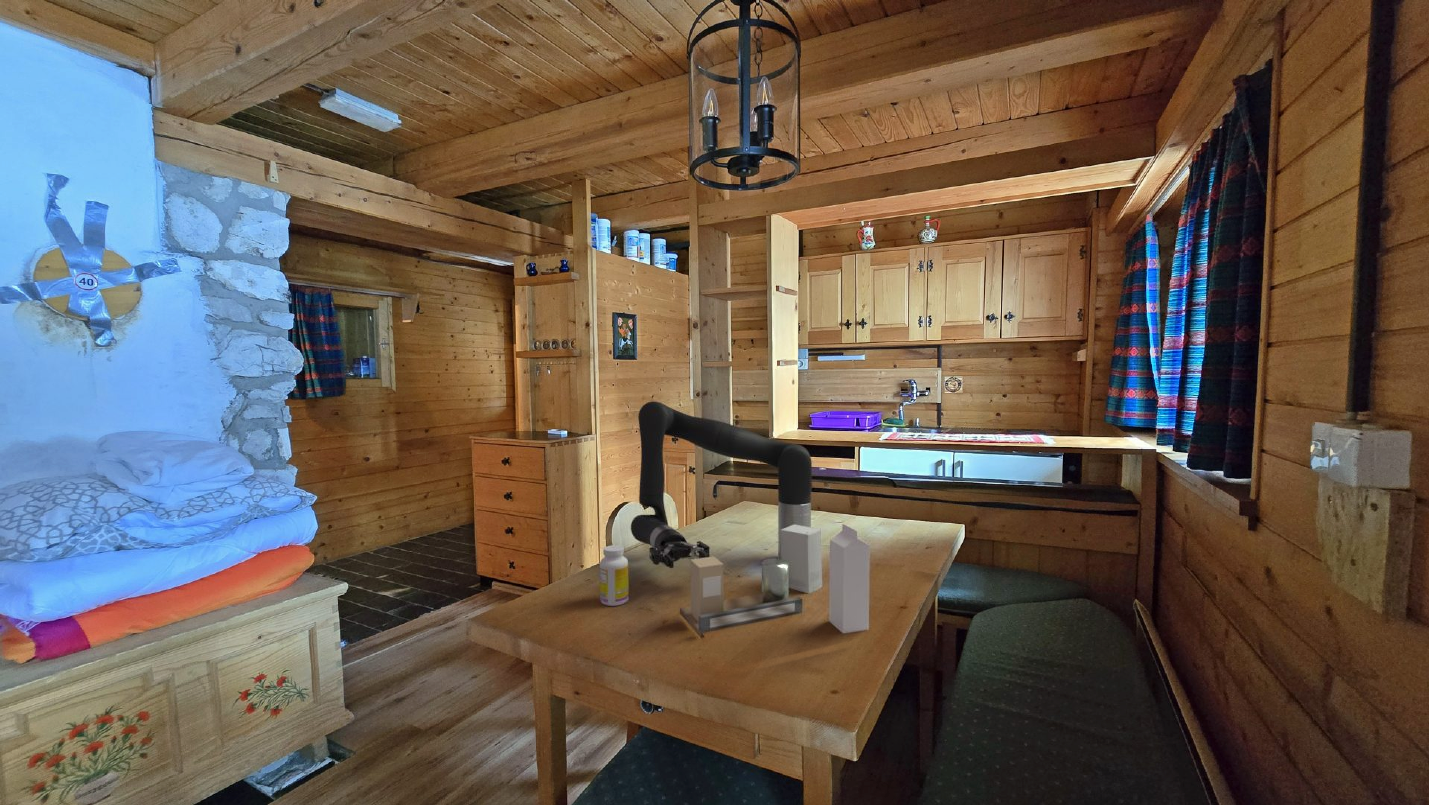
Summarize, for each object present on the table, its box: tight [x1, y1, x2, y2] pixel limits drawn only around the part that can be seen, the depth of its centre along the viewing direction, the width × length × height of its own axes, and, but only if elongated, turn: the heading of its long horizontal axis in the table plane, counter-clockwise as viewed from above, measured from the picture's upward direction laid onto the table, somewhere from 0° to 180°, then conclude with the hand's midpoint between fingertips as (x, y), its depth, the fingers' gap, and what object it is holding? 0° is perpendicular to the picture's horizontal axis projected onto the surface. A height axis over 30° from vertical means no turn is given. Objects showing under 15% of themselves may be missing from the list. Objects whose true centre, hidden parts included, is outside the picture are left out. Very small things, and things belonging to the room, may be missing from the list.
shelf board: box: [679, 593, 803, 639], centre depth 127 cm, size 24×13×4 cm, turn 113°
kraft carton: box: [689, 556, 725, 622], centre depth 124 cm, size 6×6×12 cm
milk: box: [828, 523, 871, 634], centre depth 119 cm, size 6×6×22 cm
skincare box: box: [780, 524, 823, 594], centre depth 141 cm, size 8×7×16 cm
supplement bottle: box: [599, 544, 630, 607], centre depth 135 cm, size 7×7×13 cm
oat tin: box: [761, 557, 790, 604], centre depth 128 cm, size 6×6×10 cm
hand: (689, 561), depth 134 cm, fingers open, 8 cm apart
